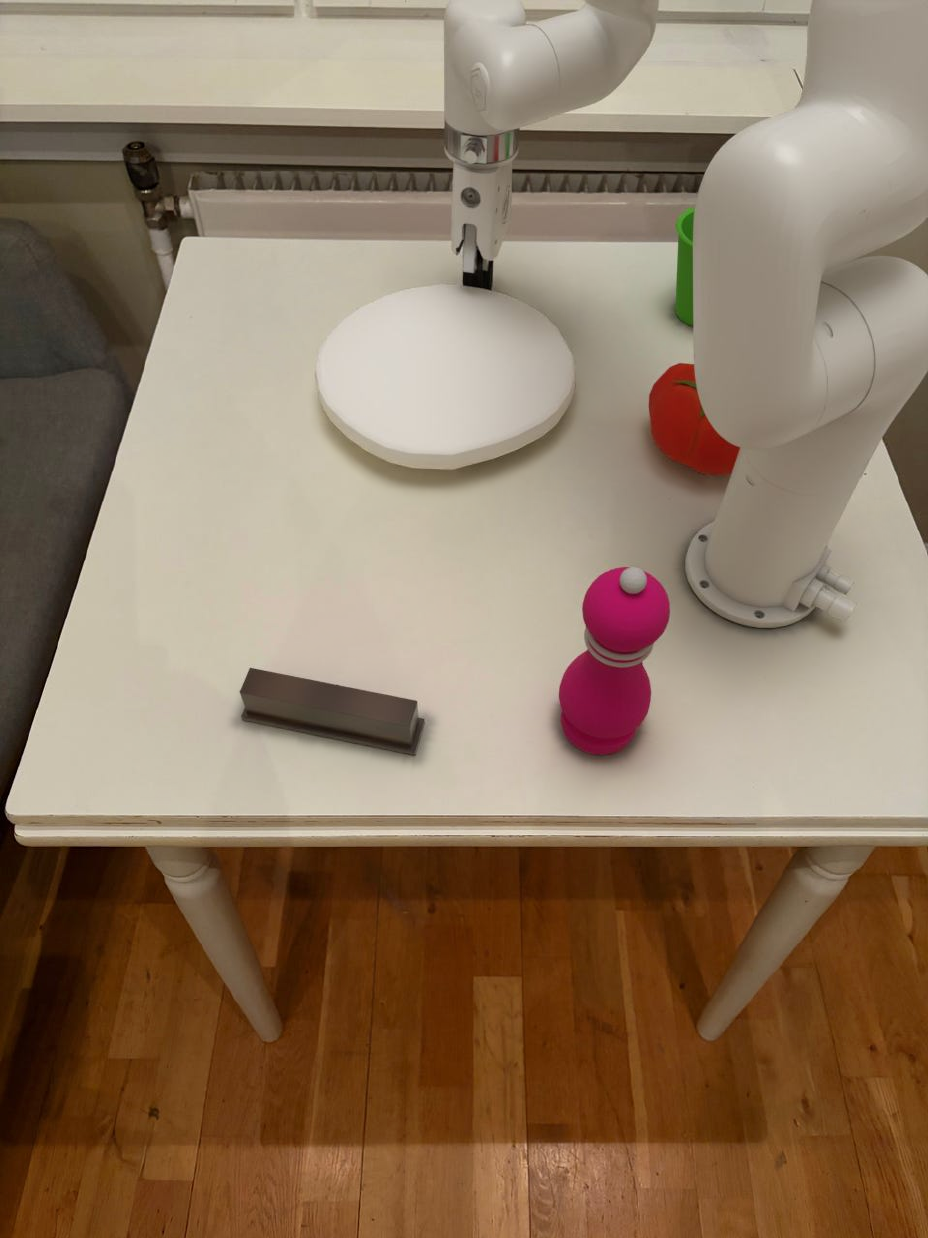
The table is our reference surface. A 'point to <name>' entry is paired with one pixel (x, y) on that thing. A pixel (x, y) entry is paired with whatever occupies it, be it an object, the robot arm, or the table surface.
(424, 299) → the plate
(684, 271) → the cup
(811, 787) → the table surface
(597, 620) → the pepper mill
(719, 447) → the tomato
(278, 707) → the rail
